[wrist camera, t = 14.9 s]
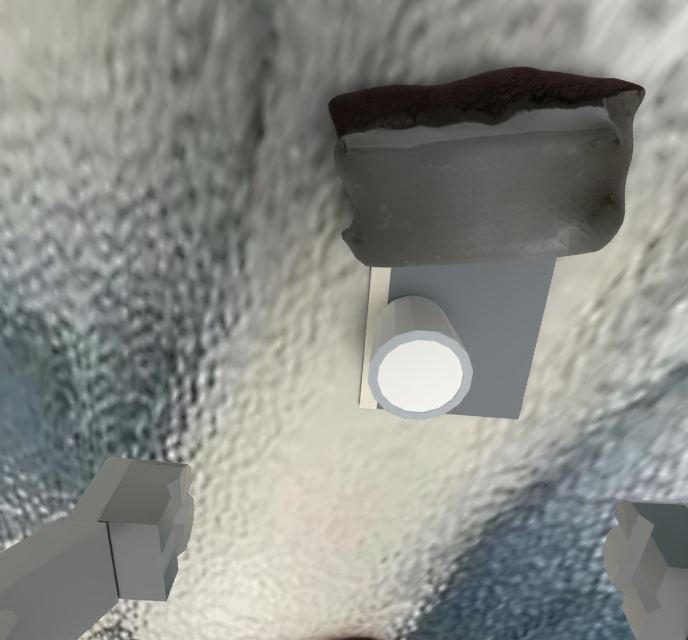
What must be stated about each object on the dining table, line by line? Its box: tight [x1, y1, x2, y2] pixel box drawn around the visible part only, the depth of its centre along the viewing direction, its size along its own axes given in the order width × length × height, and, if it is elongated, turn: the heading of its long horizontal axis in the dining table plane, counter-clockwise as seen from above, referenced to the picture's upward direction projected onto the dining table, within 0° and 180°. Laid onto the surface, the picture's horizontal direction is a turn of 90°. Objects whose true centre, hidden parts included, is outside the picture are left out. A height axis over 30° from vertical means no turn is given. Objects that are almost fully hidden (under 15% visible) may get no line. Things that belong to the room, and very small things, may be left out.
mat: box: [359, 257, 557, 419], centre depth 44 cm, size 14×13×1 cm
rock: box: [328, 67, 645, 268], centre depth 35 cm, size 18×11×8 cm, turn 96°
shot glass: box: [368, 295, 473, 420], centre depth 40 cm, size 7×7×7 cm
